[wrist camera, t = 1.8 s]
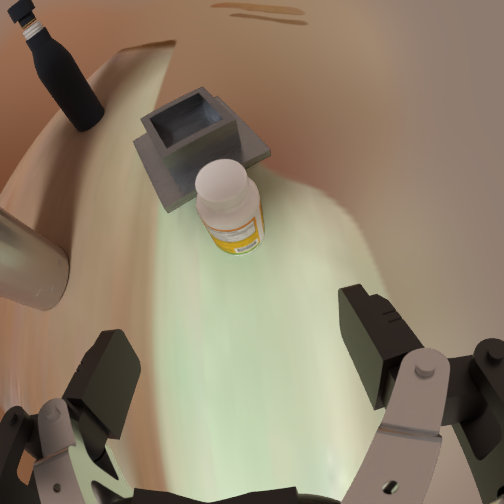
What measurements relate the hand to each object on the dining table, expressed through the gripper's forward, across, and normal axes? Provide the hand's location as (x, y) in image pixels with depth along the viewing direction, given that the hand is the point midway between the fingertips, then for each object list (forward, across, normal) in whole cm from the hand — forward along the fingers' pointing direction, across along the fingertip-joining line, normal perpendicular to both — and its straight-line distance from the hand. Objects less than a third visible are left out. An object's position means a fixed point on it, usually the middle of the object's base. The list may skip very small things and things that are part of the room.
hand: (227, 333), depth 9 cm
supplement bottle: (+20, 0, +3) cm, 20 cm away
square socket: (+30, +4, -6) cm, 30 cm away
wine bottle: (+41, +24, -18) cm, 51 cm away
